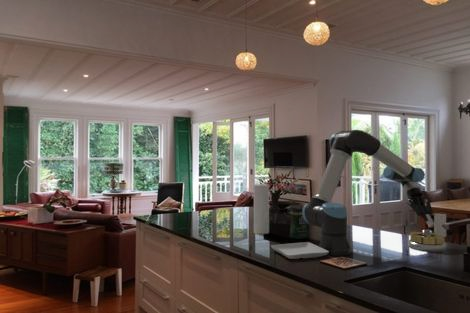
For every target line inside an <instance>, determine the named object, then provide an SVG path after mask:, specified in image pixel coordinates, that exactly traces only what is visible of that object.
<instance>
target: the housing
mask: <svg viewBox="0 0 470 313" xmlns="http://www.w3.org/2000/svg"><path fill="white" fill-rule="evenodd" d="M421 232H422V236H424V237H426V234H428V235H431V237H432V233H433V231H432V230H431V229H422V230H421ZM408 248H409V249H412V250H415V251H419V252H420V251H422V252H429V253H442V252H445V251H447V242H445V243H444V244H423V243H417V242H413V241H411V239H409V240H408Z"/></svg>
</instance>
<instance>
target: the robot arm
mask: <svg viewBox="0 0 470 313" xmlns="http://www.w3.org/2000/svg"><path fill="white" fill-rule="evenodd" d="M328 144H329V152H330V158H329V160H328V163H327V164H326V168H325V170H324V172H323V175H322V178H321V181H320V184H319V186H318V188H317V190H316V194H315V195H313V196H311V199H310V201H309V202H307V203H305V204H304V205H303V206H304V207H303V210H302V215H303V218H304V220H305V221H306V224H308V225H310V226H312V227H318V228H321V239H320V242H319V244H318V246H319V247H321V248H323V249H325V250H327V251H329V253H328V254H326V255H325V256H339V257H342V256H348V255H350V254H351V252H352V251H351V250H352V249H351V245H350V242H349V240H348V233H347V232H348V229H347V228H348V212H347V207H346V206H345V205H344V204H341V203H337V202H332V200H333V199H334V195H335V193H336V191H337V188H338V186H339V182H340V180H341V178H342V174H343V171H344V169H345V166H346V164H347V161H348V160H351V158H352V156H353V153H362V154H365V155H366V156H367V157H373V158H374V159H376V160H377V161H379V163H382V164H383V165H385V168H384V169H383V173H382V175H383V177H384V178H385V179H387V180H390V181H393V182H396V183H399V184H401V186H402V188H403V191H404V192H405V194H406V196H407V198H408V200H407V202H406V204H407V205H408V206H410V208H411V209H412V210H413V211H414V213H416V215H417V216H418V217H420V218H421V219H423V221H424V222H425V223H426V224H427V226H428V228H434V218H433V217H432V215H433V214H434V213H433V212H434V211H433V208H432V205H431V199H429V198H428V199H426V198H425V197H424V195H423V192H422V190H421V189H420V187H419V185H418V183H421V182H423V181H424V179H425V171H424V169H423V168H421V167H414V166H412V164H409V163H408V162H407V161H405V160H404V159H403V158H401V157H400V156H398V155H396V154H395V153H394V152H393V151H391V150H390V149H388V148H387V147H385V145H383V144H382V143H381V141H380V140H379V139H378V138H376V137H375V136H374V135H372V134H370V133H369V132H366V131H364V130H360V129H350V130H340V131H337V132H334V133H333V134H332V135H331V136H330V138H329V143H328Z"/></svg>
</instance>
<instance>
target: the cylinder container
mask: <svg viewBox="0 0 470 313" xmlns="http://www.w3.org/2000/svg"><path fill="white" fill-rule="evenodd" d="M253 233H254V234H257V235H258V234H259V235H266V234H267V235H268V234H270V185H269V184H265V183H259V184H253Z"/></svg>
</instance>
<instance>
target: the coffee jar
mask: <svg viewBox="0 0 470 313" xmlns="http://www.w3.org/2000/svg"><path fill="white" fill-rule="evenodd" d="M303 207H304V205H291V206H290V209H289V213H290V226H289V227H290V228H289V237H290V238H291V239H296V240H301V239H307V237H308V230H307V222H306V221H305V220H304V218H303V215H302V210H303Z"/></svg>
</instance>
